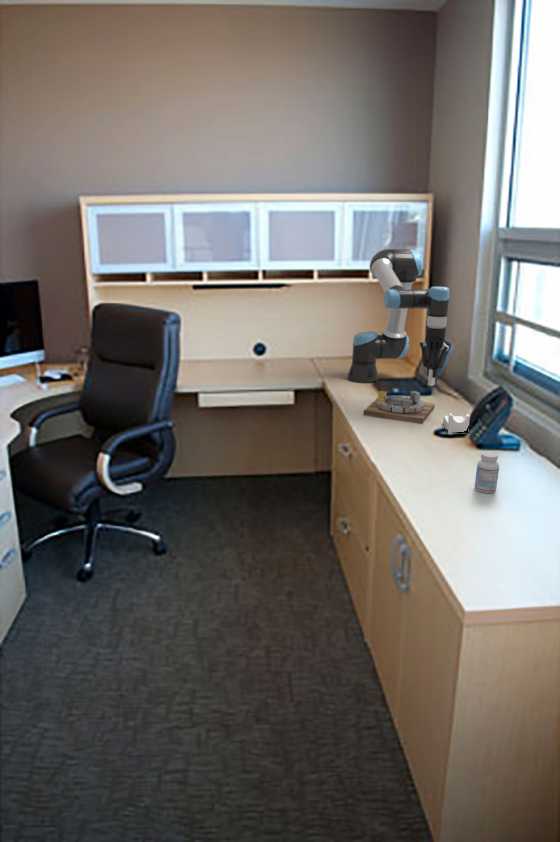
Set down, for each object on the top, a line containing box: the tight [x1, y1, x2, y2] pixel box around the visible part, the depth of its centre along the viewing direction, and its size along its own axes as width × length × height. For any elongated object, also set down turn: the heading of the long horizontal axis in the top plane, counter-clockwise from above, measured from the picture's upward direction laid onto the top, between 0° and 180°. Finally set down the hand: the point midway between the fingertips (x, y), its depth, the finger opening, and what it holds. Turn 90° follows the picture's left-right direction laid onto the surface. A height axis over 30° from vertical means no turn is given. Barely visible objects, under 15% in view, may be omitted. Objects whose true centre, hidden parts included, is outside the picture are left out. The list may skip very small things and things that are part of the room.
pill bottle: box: [474, 450, 500, 494], centre depth 184 cm, size 6×6×11 cm
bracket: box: [442, 413, 471, 433], centre depth 240 cm, size 13×7×8 cm, turn 174°
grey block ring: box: [377, 390, 425, 413], centre depth 260 cm, size 19×19×5 cm
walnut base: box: [363, 397, 436, 424], centre depth 261 cm, size 24×24×4 cm
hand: (431, 384), depth 256 cm, fingers closed
